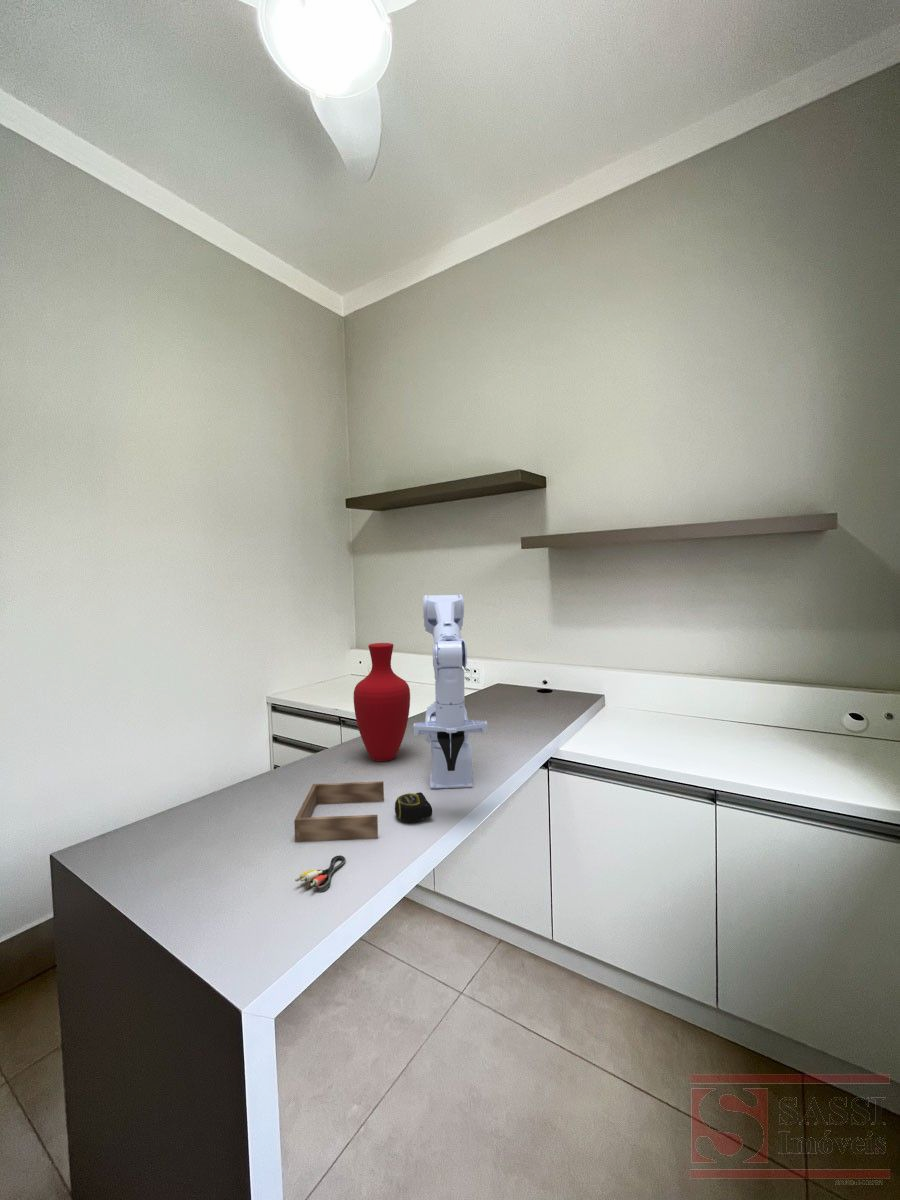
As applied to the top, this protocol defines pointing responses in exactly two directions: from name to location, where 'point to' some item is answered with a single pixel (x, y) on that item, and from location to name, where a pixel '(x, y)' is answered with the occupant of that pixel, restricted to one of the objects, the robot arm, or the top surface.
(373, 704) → the vase
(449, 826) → the top surface
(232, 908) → the top surface
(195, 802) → the top surface
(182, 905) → the top surface
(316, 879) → the composite cable
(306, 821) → the u-shaped wooden frame
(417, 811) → the tape measure
